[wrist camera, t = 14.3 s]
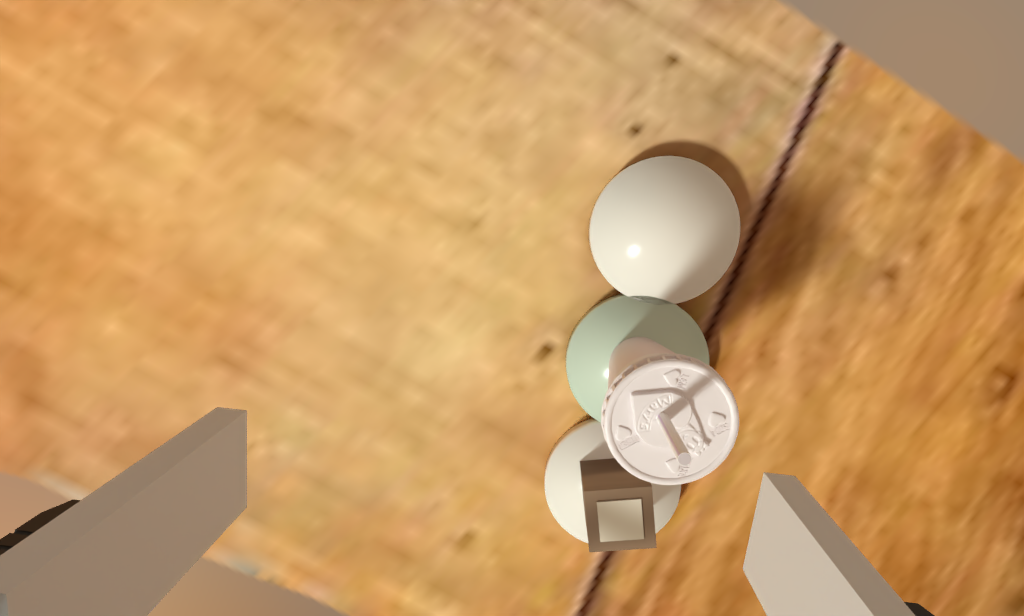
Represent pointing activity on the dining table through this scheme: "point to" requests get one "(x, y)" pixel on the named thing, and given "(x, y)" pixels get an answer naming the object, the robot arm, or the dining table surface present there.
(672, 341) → the saucer mid
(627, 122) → the dining table surface
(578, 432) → the saucer far
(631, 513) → the letter cube
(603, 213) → the saucer near
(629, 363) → the smoothie
